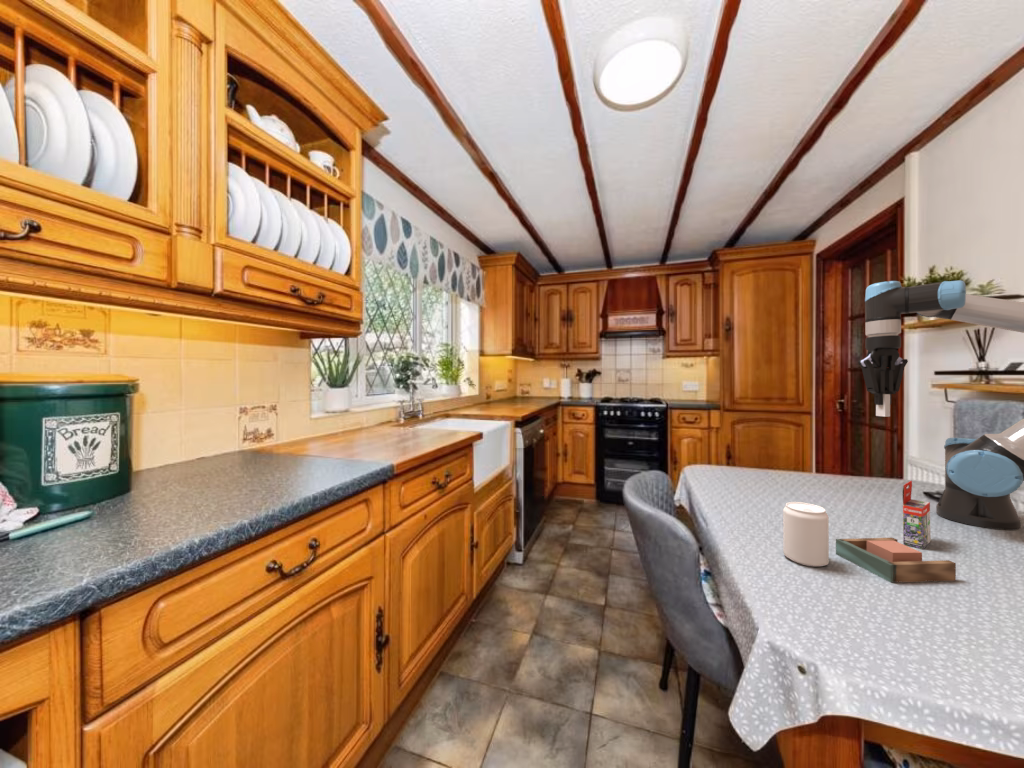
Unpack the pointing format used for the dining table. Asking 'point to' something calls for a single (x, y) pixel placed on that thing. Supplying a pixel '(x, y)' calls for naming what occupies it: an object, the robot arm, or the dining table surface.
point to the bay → (894, 563)
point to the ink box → (915, 520)
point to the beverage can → (806, 534)
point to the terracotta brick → (893, 551)
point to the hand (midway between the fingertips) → (882, 416)
